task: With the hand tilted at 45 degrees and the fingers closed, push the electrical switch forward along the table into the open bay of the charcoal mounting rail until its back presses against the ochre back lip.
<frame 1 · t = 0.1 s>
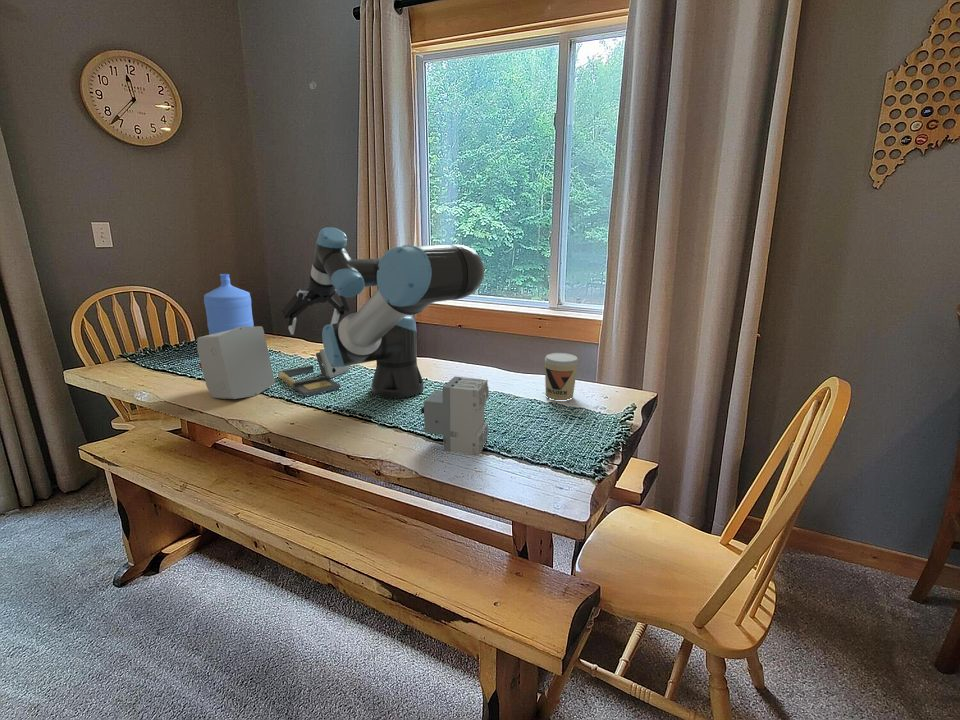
hand: (312, 328, 158), 15 cm above the table, tool tilted 35°, fingers open, 13 cm apart
circuit breaker: (453, 444, 115), on the table
electrical switch: (332, 374, 163), on the table
electrical switch box: (236, 391, 147), on the table
water jug: (234, 349, 191), on the table
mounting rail: (308, 383, 154), on the table
coffee cup: (559, 397, 145), on the table
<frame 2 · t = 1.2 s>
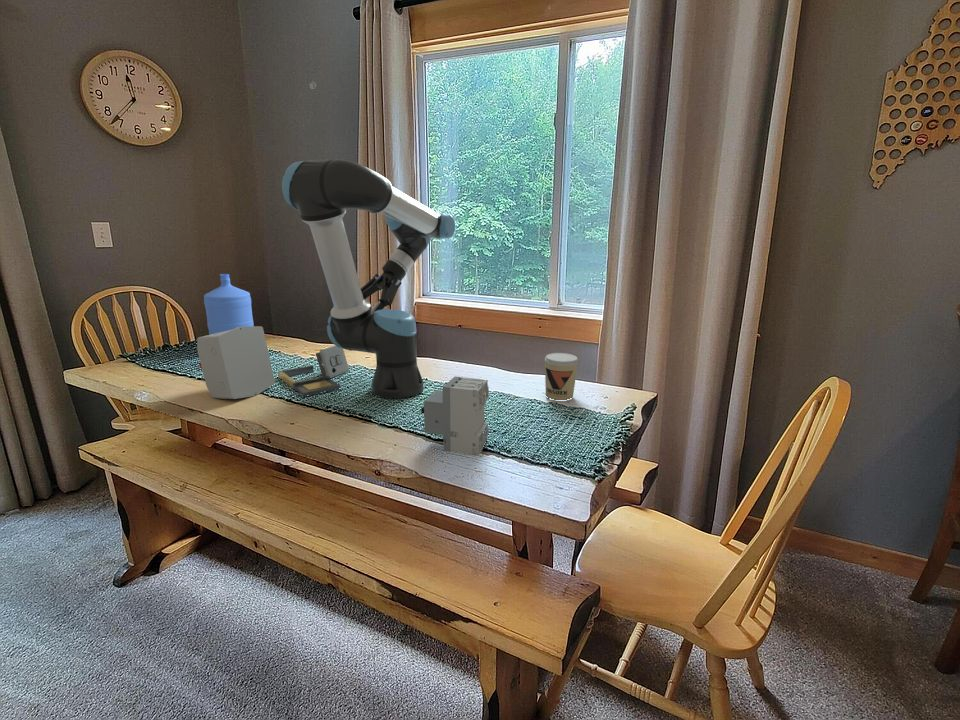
hand: (359, 316, 164), 18 cm above the table, tool tilted 45°, fingers open, 12 cm apart
nothing on the table moved.
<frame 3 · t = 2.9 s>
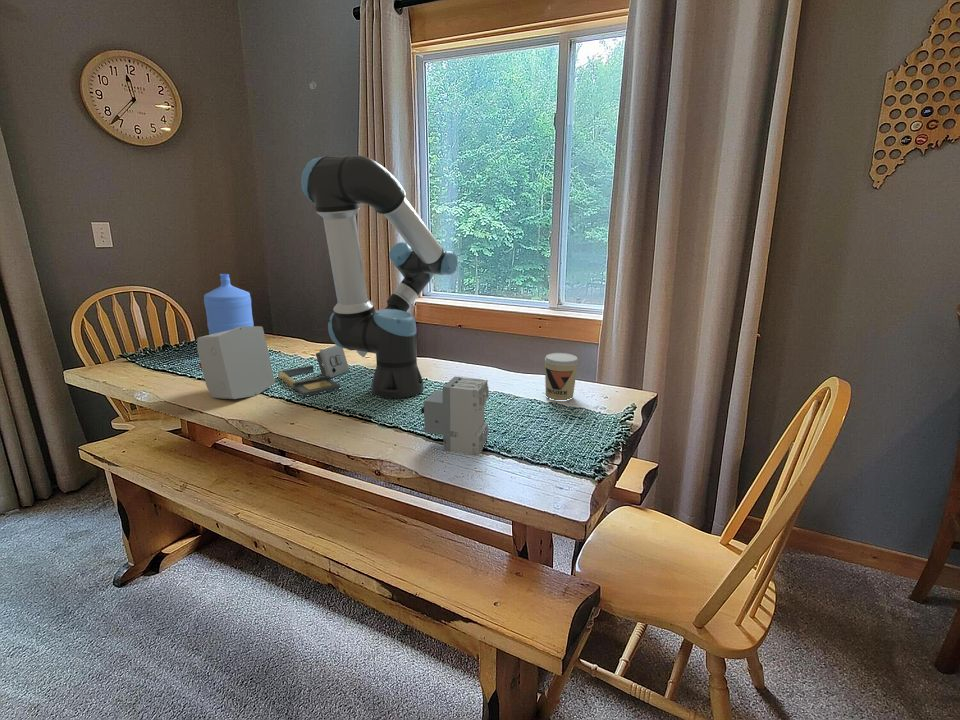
hand: (360, 354, 168), 5 cm above the table, tool tilted 45°, fingers closed
nothing on the table moved.
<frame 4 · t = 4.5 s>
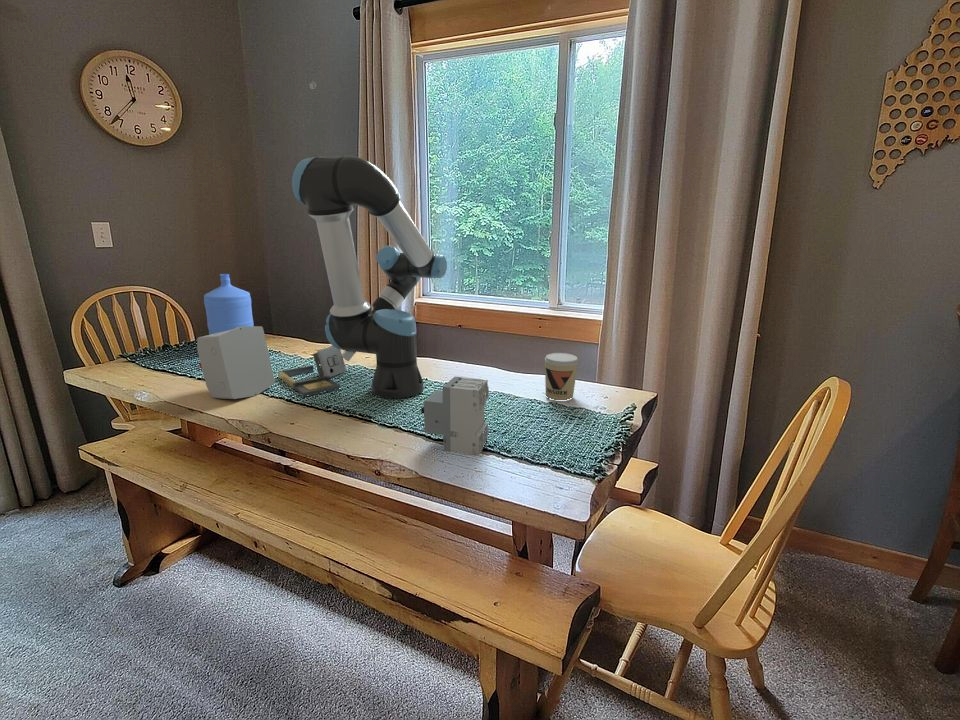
hand: (344, 358, 165), 4 cm above the table, tool tilted 45°, fingers closed
electrical switch: (330, 375, 162), on the table, touching gripper
everything else where it was.
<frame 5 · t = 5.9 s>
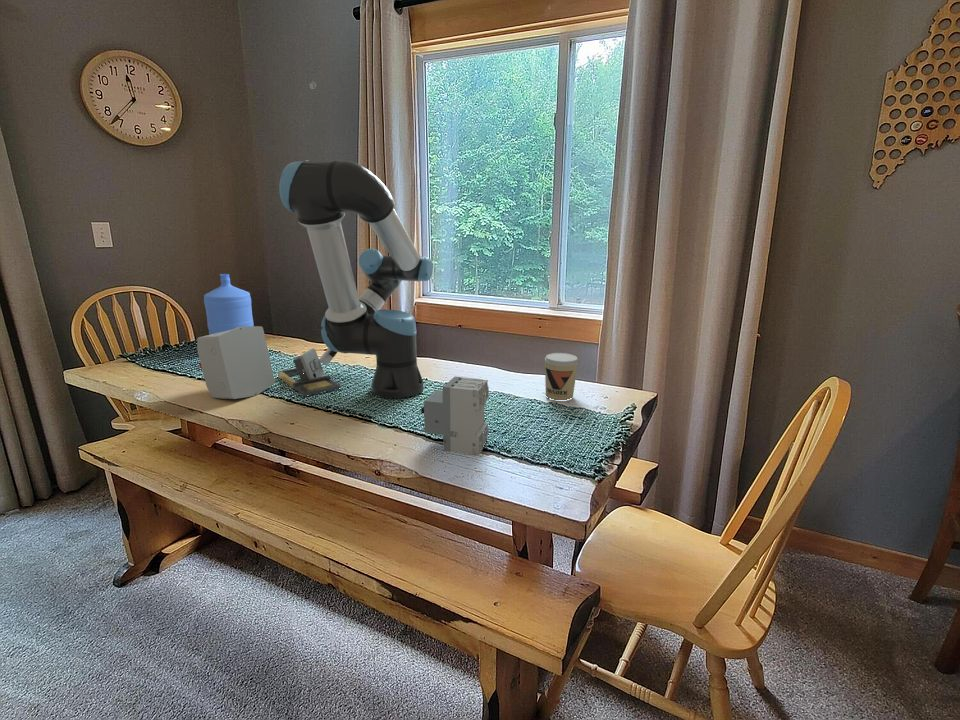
hand: (322, 363, 160), 4 cm above the table, tool tilted 45°, fingers closed
electrical switch: (310, 380, 157), on the table, touching gripper
everything else where it was.
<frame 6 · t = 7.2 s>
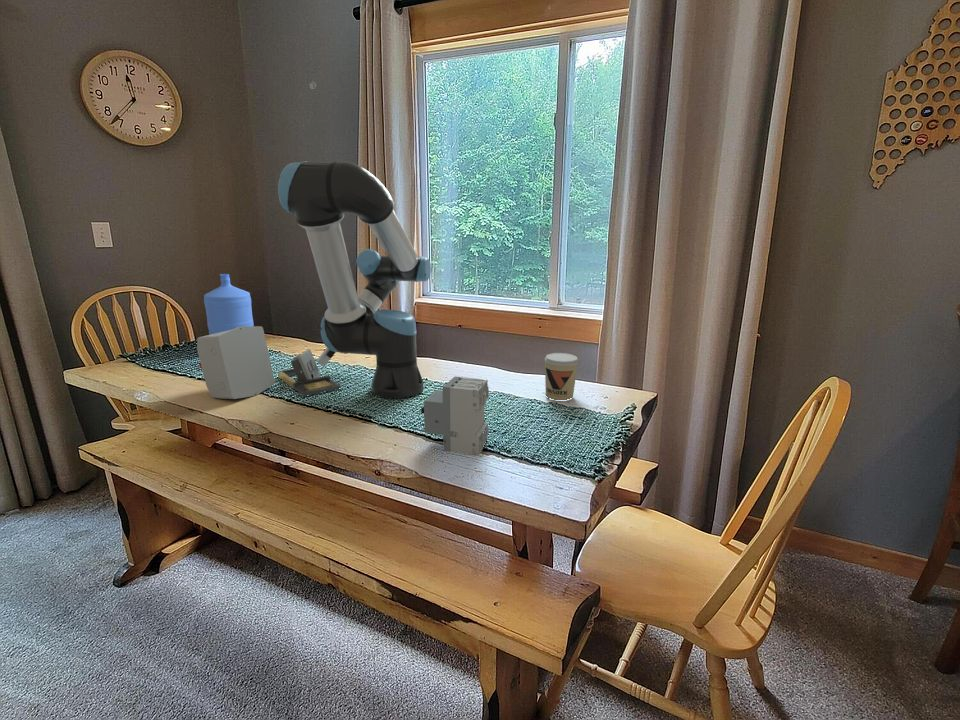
hand: (320, 364, 159), 4 cm above the table, tool tilted 45°, fingers closed
electrical switch: (307, 381, 156), on the table
everything else where it was.
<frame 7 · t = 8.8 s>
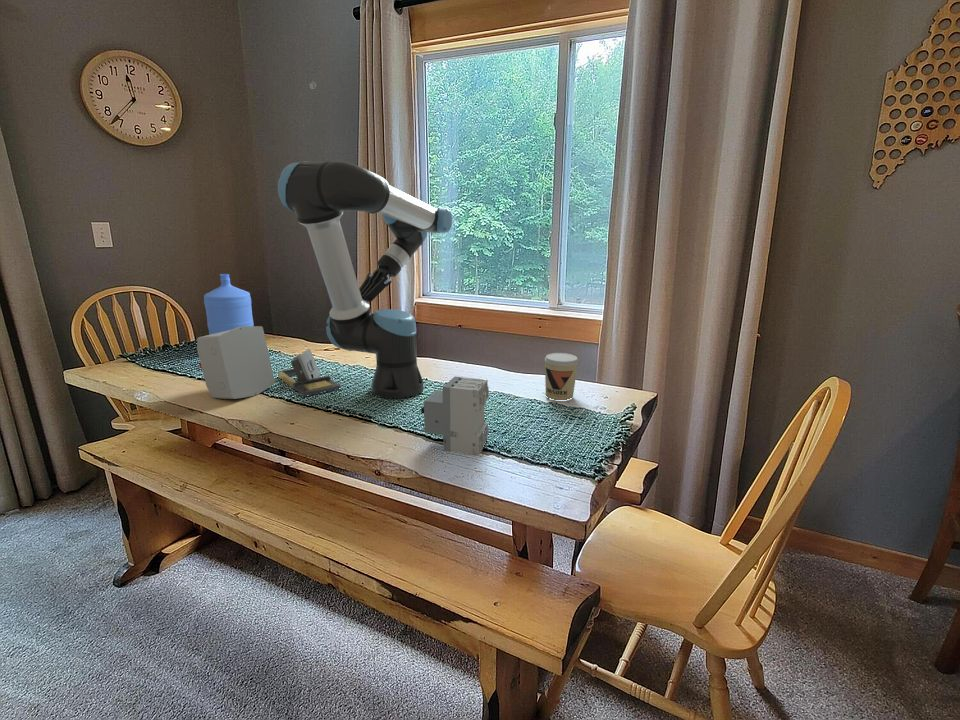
hand: (348, 315, 162), 18 cm above the table, tool tilted 45°, fingers closed
nothing on the table moved.
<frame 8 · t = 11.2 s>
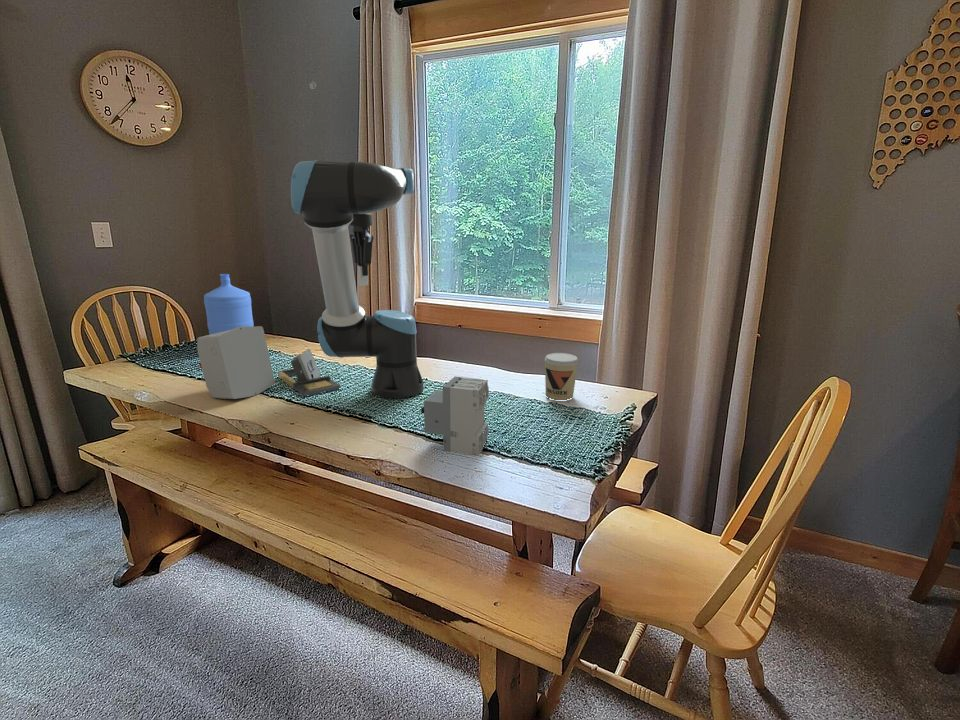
hand: (364, 285, 172), 26 cm above the table, tool pointing down, fingers closed
nothing on the table moved.
at the end: electrical switch inside the target area (1.2 cm from its centre), on the table; electrical switch tilted 0°; the gripper is holding nothing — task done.
